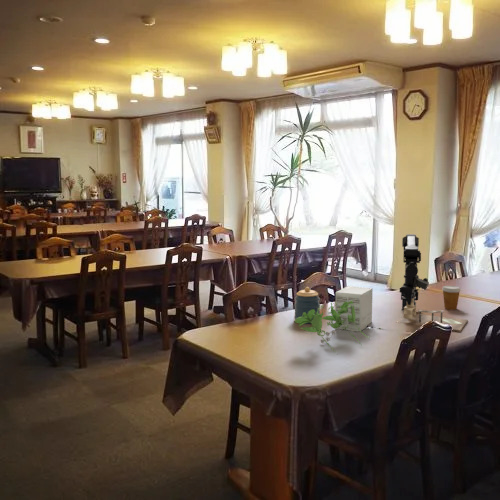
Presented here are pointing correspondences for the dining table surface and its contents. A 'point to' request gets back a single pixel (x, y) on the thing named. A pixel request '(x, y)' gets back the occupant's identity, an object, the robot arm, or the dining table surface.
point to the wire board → (422, 319)
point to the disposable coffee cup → (451, 297)
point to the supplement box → (355, 306)
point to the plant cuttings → (334, 317)
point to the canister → (306, 302)
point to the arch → (410, 310)
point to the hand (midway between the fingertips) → (410, 304)
